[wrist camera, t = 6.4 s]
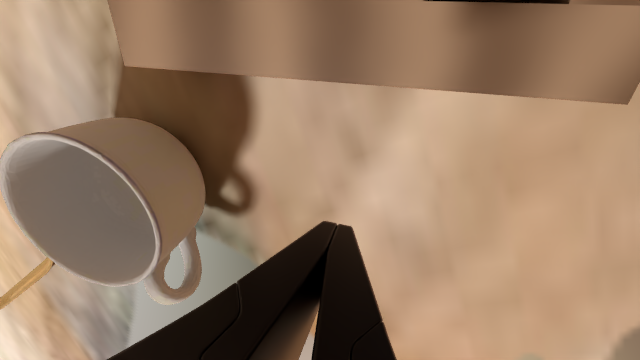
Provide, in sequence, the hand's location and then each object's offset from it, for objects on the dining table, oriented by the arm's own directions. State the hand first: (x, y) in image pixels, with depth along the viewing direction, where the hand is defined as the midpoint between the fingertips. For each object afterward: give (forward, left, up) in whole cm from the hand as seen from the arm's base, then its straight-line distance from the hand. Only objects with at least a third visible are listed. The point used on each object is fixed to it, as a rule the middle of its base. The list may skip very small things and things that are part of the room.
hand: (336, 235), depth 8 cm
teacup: (+16, +7, -12) cm, 21 cm away
